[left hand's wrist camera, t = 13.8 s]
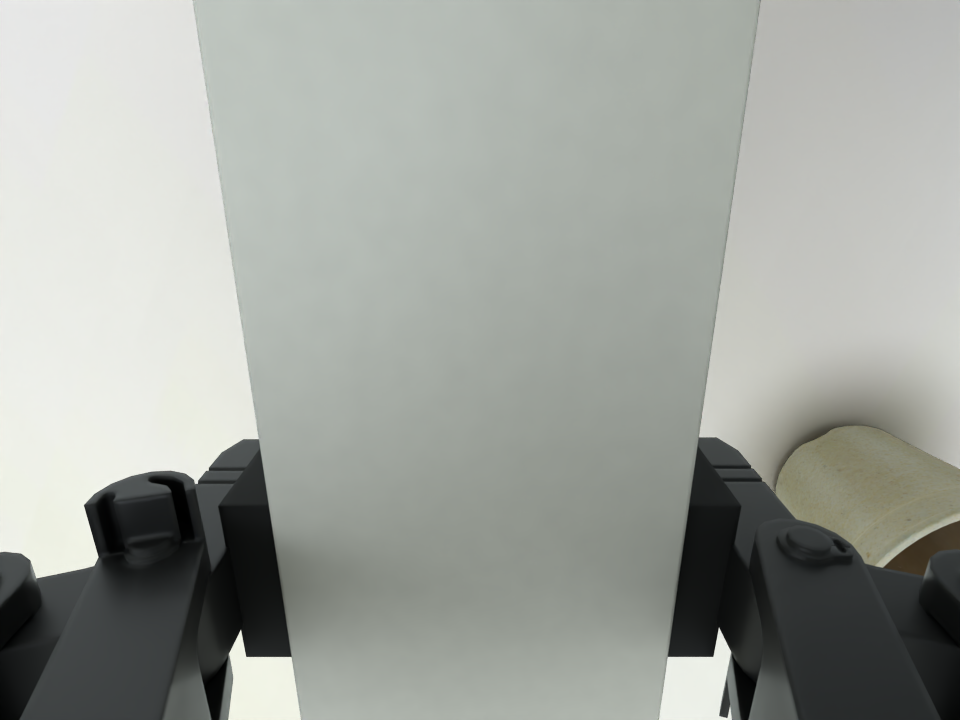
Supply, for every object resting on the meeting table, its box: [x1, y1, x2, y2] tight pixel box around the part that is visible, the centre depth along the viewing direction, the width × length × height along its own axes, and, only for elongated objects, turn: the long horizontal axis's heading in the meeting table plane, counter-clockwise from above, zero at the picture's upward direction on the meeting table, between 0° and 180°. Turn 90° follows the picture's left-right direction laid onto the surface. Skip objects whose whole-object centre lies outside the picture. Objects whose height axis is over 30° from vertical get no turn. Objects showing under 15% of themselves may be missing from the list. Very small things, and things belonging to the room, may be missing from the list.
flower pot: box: [776, 426, 960, 576], centre depth 24 cm, size 9×9×9 cm
